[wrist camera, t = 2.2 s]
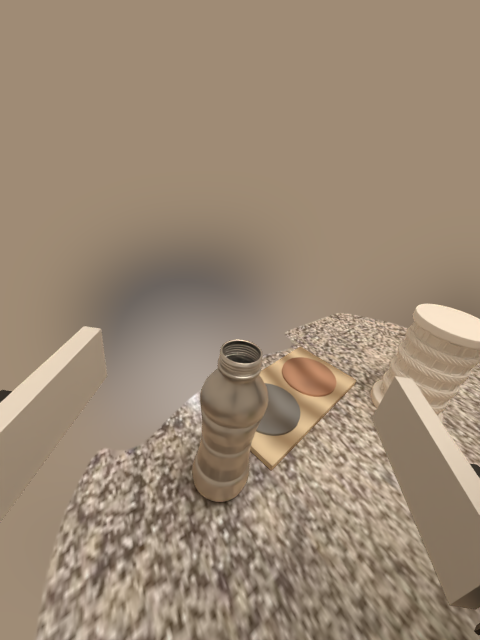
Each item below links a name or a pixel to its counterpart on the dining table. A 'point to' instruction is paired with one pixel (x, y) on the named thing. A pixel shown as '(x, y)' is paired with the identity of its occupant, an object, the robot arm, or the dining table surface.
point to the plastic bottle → (229, 421)
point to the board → (295, 402)
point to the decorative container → (435, 355)
